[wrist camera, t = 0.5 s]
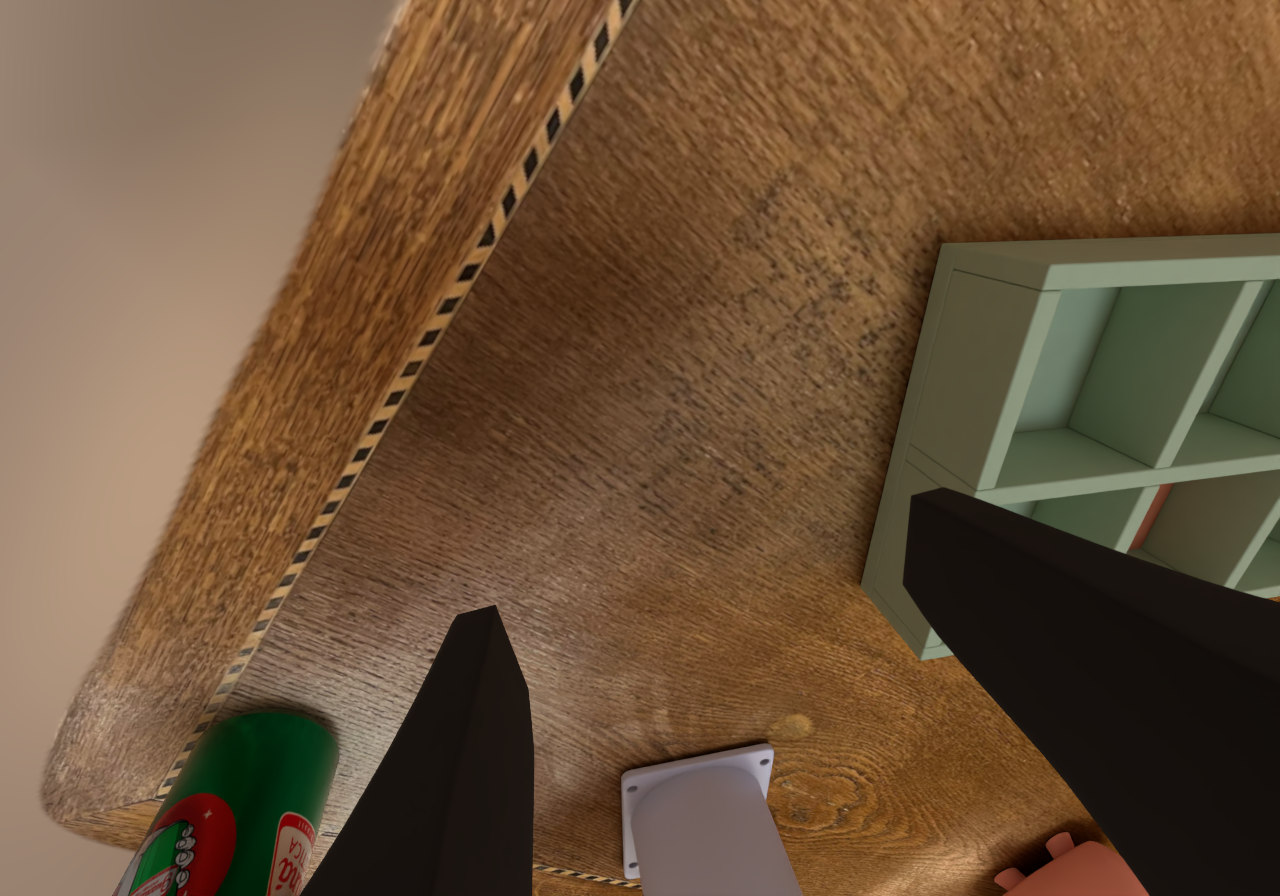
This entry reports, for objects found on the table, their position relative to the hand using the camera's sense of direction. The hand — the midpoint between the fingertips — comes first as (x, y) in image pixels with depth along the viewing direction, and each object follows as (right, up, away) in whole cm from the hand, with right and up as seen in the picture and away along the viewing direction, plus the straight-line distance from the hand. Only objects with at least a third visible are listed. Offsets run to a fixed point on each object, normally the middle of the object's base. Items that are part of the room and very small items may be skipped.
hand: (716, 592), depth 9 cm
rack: (+19, +4, +14) cm, 24 cm away
